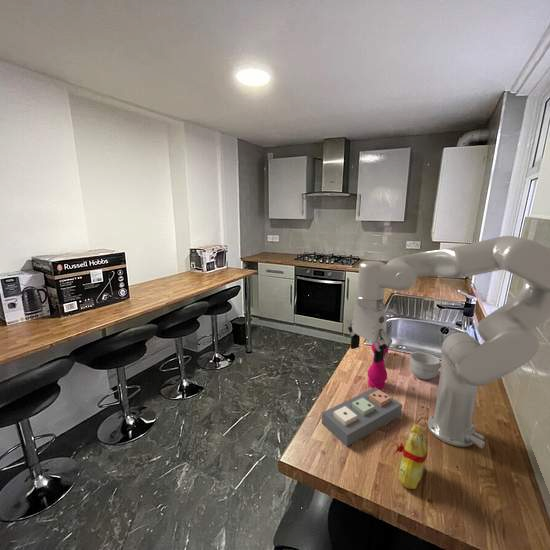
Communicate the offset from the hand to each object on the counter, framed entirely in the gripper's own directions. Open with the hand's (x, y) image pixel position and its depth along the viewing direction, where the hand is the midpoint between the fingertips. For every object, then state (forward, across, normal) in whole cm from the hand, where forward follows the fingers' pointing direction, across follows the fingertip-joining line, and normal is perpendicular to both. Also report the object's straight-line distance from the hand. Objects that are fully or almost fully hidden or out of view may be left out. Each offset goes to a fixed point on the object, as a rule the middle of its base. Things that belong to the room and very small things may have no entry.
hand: (366, 354), depth 91 cm
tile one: (+21, -1, +9) cm, 22 cm away
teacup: (+23, +4, -40) cm, 46 cm away
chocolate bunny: (+23, -21, +5) cm, 32 cm away
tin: (+23, +23, -35) cm, 48 cm away
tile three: (+21, -1, -7) cm, 22 cm away
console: (+22, -1, +1) cm, 23 cm away
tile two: (+21, -1, +1) cm, 21 cm away
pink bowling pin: (+23, +10, -18) cm, 30 cm away
